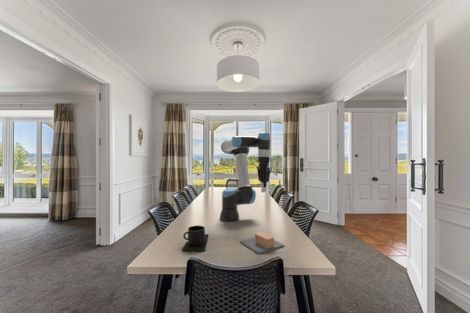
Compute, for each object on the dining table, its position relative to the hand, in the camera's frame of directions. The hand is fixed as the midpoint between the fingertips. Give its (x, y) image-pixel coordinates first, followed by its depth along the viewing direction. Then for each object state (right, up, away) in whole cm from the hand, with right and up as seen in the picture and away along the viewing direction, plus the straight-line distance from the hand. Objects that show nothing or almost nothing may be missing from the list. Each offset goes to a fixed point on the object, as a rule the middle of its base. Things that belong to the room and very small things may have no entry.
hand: (263, 192), depth 149 cm
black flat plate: (-42, -27, -18) cm, 53 cm away
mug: (-42, -27, -20) cm, 54 cm away
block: (-5, -23, -18) cm, 30 cm away
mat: (-4, -27, -20) cm, 34 cm away
